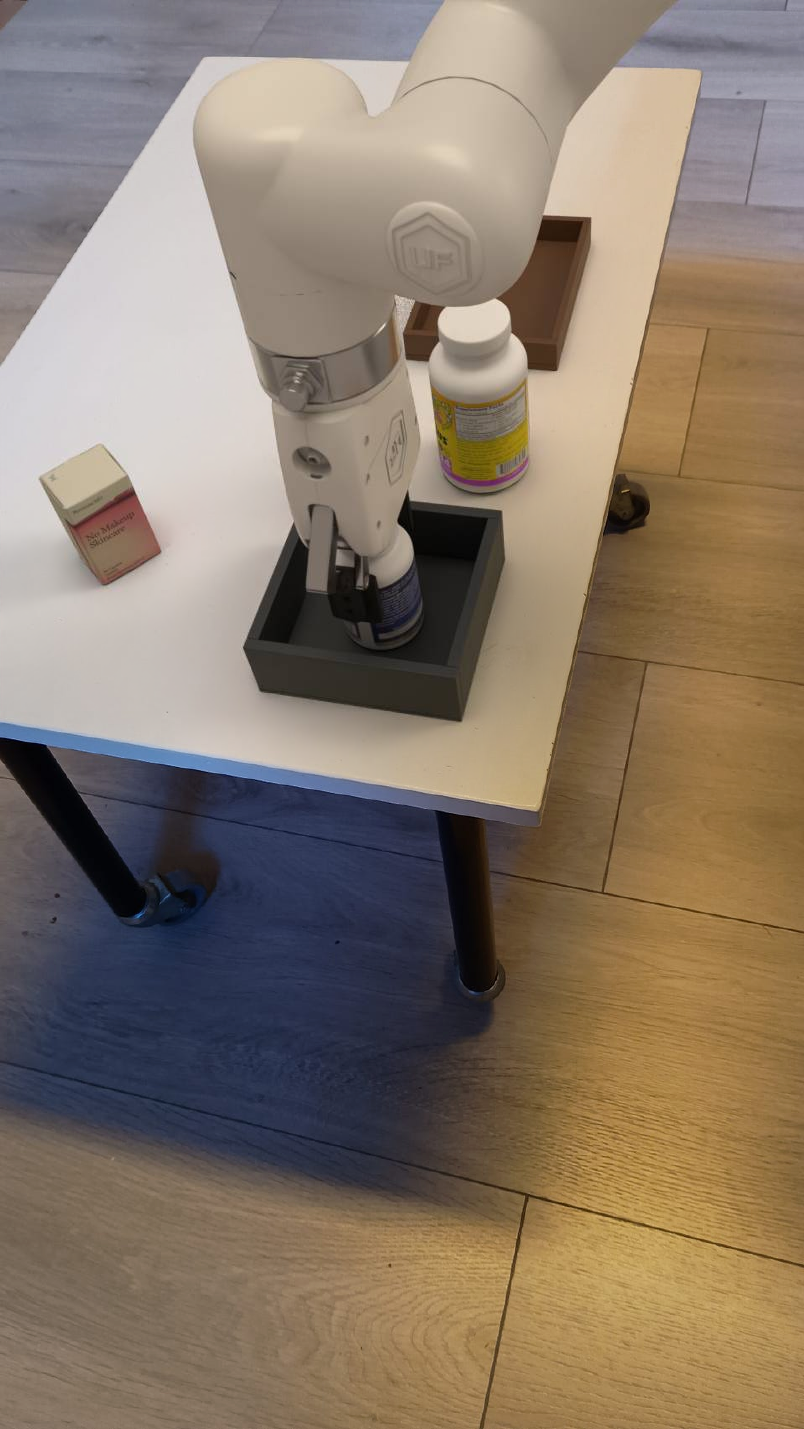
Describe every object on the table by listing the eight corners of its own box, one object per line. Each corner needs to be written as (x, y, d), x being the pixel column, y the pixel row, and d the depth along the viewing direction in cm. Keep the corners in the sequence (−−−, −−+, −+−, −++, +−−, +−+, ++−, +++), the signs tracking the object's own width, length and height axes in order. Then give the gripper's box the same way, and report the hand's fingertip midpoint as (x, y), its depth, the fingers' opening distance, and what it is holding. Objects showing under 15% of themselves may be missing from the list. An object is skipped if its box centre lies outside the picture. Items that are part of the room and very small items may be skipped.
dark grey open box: (319, 537, 80) (306, 489, 76) (505, 558, 77) (502, 509, 73) (259, 691, 73) (242, 647, 69) (461, 722, 70) (455, 678, 66)
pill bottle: (435, 597, 75) (420, 494, 67) (409, 659, 72) (390, 560, 64) (361, 583, 76) (337, 480, 68) (333, 643, 74) (305, 545, 66)
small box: (103, 587, 79) (62, 510, 73) (77, 554, 82) (35, 476, 75) (164, 552, 81) (129, 472, 74) (136, 519, 83) (100, 439, 76)
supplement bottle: (446, 432, 84) (429, 284, 73) (533, 432, 83) (530, 283, 72) (435, 497, 80) (416, 352, 70) (526, 498, 79) (521, 351, 69)
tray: (451, 237, 97) (449, 210, 95) (590, 243, 95) (591, 216, 92) (405, 359, 89) (402, 333, 87) (556, 370, 86) (556, 344, 84)
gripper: (349, 469, 50) (397, 692, 65) (438, 237, 59) (462, 479, 74) (196, 454, 52) (277, 674, 67) (305, 230, 61) (355, 469, 76)
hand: (374, 570), depth 70 cm, fingers open, 6 cm apart
